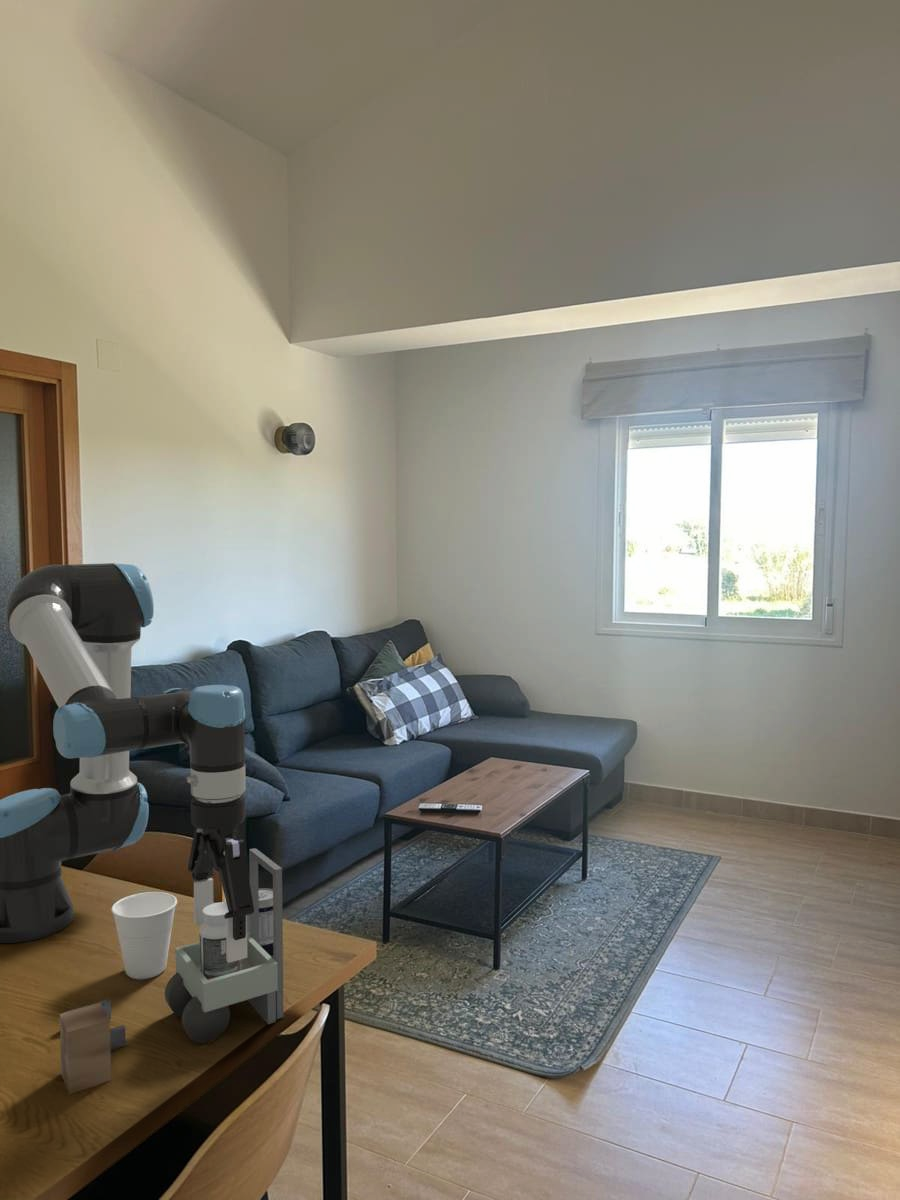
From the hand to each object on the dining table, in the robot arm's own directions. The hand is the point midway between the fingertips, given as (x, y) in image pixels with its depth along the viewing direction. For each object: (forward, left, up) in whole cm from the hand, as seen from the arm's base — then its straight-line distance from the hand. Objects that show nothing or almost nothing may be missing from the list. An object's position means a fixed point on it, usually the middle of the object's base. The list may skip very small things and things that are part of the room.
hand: (219, 940), depth 126 cm
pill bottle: (0, 0, -5) cm, 5 cm away
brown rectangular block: (+4, -19, -11) cm, 23 cm away
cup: (-20, -5, -11) cm, 23 cm away
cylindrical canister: (-11, +11, -12) cm, 19 cm away
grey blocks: (-5, -16, -11) cm, 20 cm away
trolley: (0, +1, -11) cm, 11 cm away
